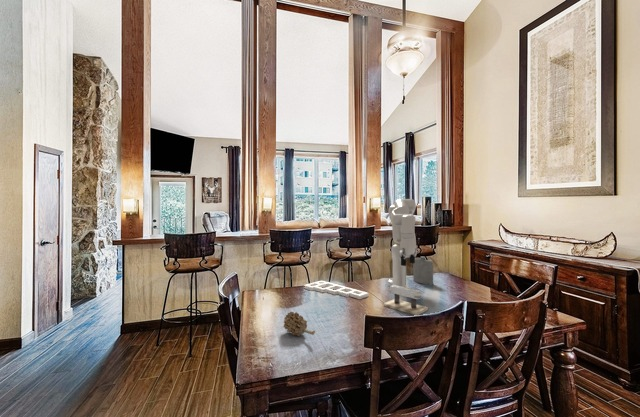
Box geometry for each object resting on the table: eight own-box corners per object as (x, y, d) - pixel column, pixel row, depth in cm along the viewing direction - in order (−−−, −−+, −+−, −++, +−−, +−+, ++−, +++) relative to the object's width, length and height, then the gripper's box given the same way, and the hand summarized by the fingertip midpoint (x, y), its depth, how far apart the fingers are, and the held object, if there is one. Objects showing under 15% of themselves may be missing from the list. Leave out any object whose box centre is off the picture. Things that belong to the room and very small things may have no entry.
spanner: (388, 292, 185) (388, 285, 185) (392, 290, 188) (392, 284, 188) (419, 299, 171) (419, 292, 170) (423, 298, 174) (423, 291, 174)
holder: (368, 296, 202) (368, 292, 202) (350, 303, 190) (350, 299, 190) (321, 283, 235) (321, 280, 235) (303, 288, 222) (303, 285, 222)
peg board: (383, 305, 183) (383, 293, 183) (394, 301, 192) (394, 289, 191) (417, 315, 167) (417, 301, 167) (427, 309, 176) (427, 296, 176)
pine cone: (277, 332, 147) (277, 312, 147) (292, 326, 154) (292, 307, 154) (310, 347, 132) (309, 325, 132) (324, 340, 139) (324, 318, 139)
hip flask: (433, 284, 229) (433, 257, 228) (431, 285, 226) (431, 258, 226) (414, 280, 241) (414, 255, 240) (412, 281, 238) (412, 255, 237)
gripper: (409, 233, 190) (409, 261, 191) (394, 236, 179) (394, 265, 179) (421, 235, 185) (420, 262, 186) (405, 238, 173) (405, 267, 174)
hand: (407, 264), depth 183 cm, fingers open, 9 cm apart
